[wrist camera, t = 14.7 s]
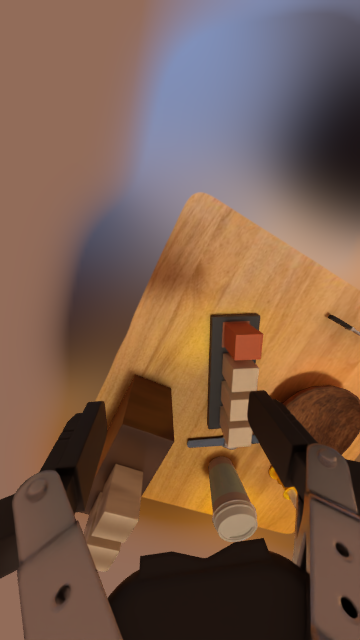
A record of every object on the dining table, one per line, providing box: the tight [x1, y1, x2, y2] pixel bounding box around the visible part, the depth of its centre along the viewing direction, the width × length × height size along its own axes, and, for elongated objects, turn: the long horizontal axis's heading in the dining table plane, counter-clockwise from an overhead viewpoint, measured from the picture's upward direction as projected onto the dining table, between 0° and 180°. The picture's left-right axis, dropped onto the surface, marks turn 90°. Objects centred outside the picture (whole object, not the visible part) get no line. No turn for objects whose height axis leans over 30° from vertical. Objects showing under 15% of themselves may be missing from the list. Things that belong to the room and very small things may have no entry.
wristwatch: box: [187, 435, 259, 450], centre depth 46 cm, size 4×20×1 cm, turn 91°
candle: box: [269, 466, 298, 508], centre depth 43 cm, size 5×5×16 cm
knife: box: [328, 315, 360, 336], centre depth 41 cm, size 15×1×2 cm, turn 62°
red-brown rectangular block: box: [224, 323, 263, 360], centre depth 35 cm, size 4×4×6 cm
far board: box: [207, 314, 260, 448], centre depth 38 cm, size 9×25×8 cm, turn 1°
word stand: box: [81, 374, 174, 572], centre depth 34 cm, size 18×8×19 cm, turn 153°
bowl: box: [283, 385, 360, 455], centre depth 44 cm, size 20×22×5 cm
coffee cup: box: [208, 457, 257, 542], centre depth 43 cm, size 8×8×12 cm
